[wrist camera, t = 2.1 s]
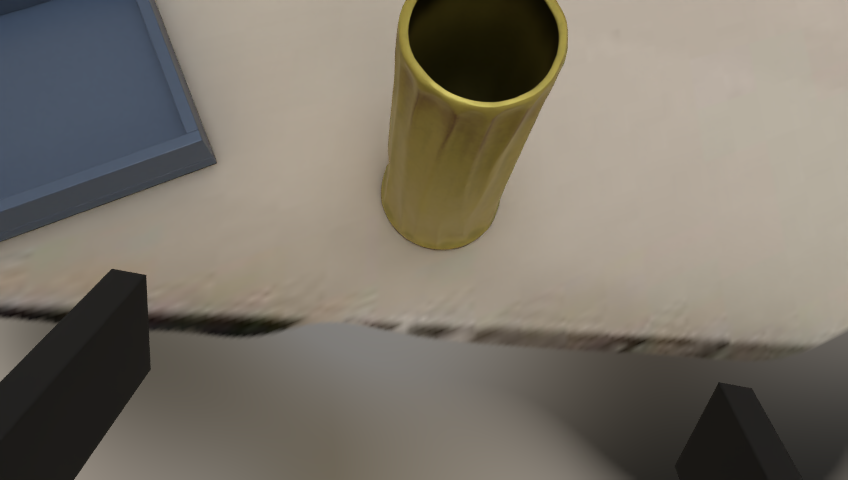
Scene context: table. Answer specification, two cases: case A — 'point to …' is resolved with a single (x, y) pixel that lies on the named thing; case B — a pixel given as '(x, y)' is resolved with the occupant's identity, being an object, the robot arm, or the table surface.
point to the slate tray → (89, 108)
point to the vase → (464, 110)
